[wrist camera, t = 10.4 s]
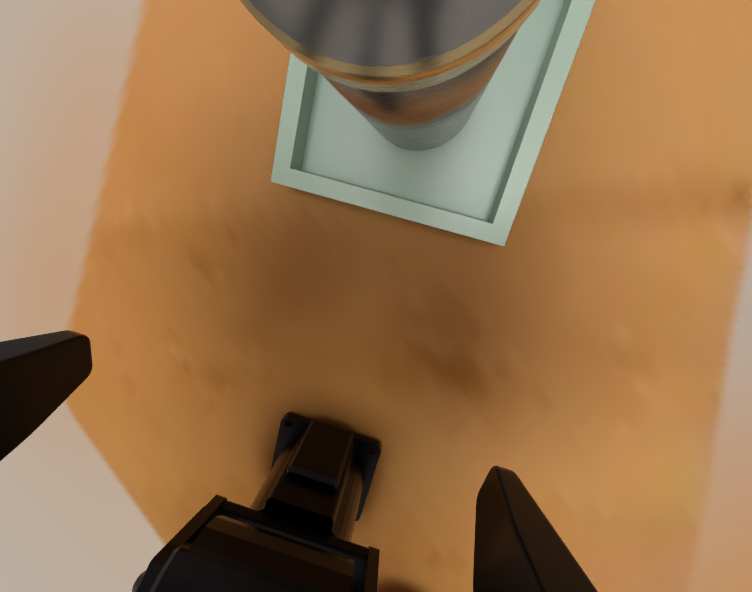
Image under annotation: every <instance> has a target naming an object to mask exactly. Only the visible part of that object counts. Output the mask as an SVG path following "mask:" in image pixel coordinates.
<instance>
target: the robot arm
mask: <svg viewBox="0 0 752 592" xmlns="http://www.w3.org/2000/svg"><path fill="white" fill-rule="evenodd" d="M91 370H92V355H91V345H90V340H89V338H88V337H87V336H86V335H83V334H80V333H77V332H74V331H67V330H66V331H60V332H54V333H49V334H43V335H37V336H31V337H26V338H20V339H14V340H8V341H3V342H0V461H1V460H2V459H3V458H4V457H6V456H7V455H8V454H9V453H10V452H11V451H13V450H14V449H15V448H16V447H17V446H18V445H19V444H20V443H22V442H23V441H24V440H25V439H26V438H27V437H28V436H30V434H32V432H34V431H35V430H36V429H37V428H38V427H39V426H40V425H41V424H42V423H43V422H44V421H45V420H46V419H47V417H49V416H50V415H51V413H53V412H54V411H55V410H56V409H57V407H59V406H60V405H61V404H62V403H63V402H64V401H65V400H66V399H67V398H68V397H69V396H70V394H71V393H72V392H73V391H74V390H75V389H76V388H77V387H78V386H79V385H80V384H81V383H82V382H83V381H84V380H85V379H86V378H87V377H88V376H89V374H90V372H91ZM287 420H290V421H291V422H292V423H289V422H288V421H287ZM371 447H374V448H376V449H375V450H373V449H371ZM380 453H381V444H380V443H379V441H377V440H374V439H371V438H368V437H365V436H362V435H358V434H355V433H352V432H349V431H346V430H343V429H340V428H336V427H333V426H330V425H327V424H324V423H321V422H318V421H314V420H311V419H308V418H305V417H302V416H299V415H296V414H292V413H287V414H286V415H284V417H283V419H282V420H281V424H280V429H279V434H278V439H277V444H276V449H275V453H274V458H273V463H272V468H271V472H270V473H269V475H268V477H267V479H266V480H265V482H264V484H263V486H262V487H261V489H260V491H259V493H258V495H257V496H256V498H255V500H254V502H253V503H252V505H251V507H250V508H248V507H245V506H242V505H239V504H236V503H233V502H230V501H227V498H225V497H222V496H219V495H216V496H215V497H214V498H213V499H212V500H211V501H210V502H209V503H208V504H207V505H206V506H204V507H203V508H202V509H201V510H200V511H199V512H198V513H197V514H196V515H195V516H194V517H193V518H192V519H191V520H190V521H189V522H188V523H187V524H186V525H185V526H184V527H183V528H182V529H181V530H180V531H179V532H178V533H177V534H176V535H175V536H174V537H173V538H172V539H171V540H170V541H169V542H168V543H167V545H166V546H165V547H164V548H163V549H162V550H161V551H160V552H159V553H158V554H157V555H156V556H155V557H154V558H153V559H152V560H151V562H150V564H149V566H148V568H147V570H146V571H144V572H143V573H142V574H140V576H139V577H138V578H137V580H136V582H135V584H134V586H133V589H132V592H377V580H378V565H379V549H376V548H373V547H370V546H369V548H366V547H363V546H360V545H357V544H354V543H352V542H351V537H352V533H353V529H354V524H355V521H358V520H359V518H360V515H361V512H362V509H363V506H364V503H365V500H366V497H367V494H368V490H369V487H370V484H371V481H372V478H373V475H374V472H375V469H376V465H377V462H378V459H379V456H380ZM473 592H598V591H597V590H596V588H595V587H594V585H593V584H592V583H591V581H590V580H589V578H588V577H587V575H586V574H585V573H584V571H583V570H582V568H581V567H580V565H579V564H578V562H577V561H576V560H575V558H574V557H573V555H572V554H571V552H570V551H569V549H568V548H567V547H566V545H565V544H564V542H563V541H562V539H561V538H560V537H559V535H558V534H557V532H556V531H555V529H554V528H553V526H552V525H551V524H550V522H549V521H548V519H547V518H546V516H545V515H544V513H543V512H542V511H541V509H540V508H539V506H538V505H537V503H536V502H535V501H534V499H533V498H532V496H531V495H530V493H529V492H528V490H527V489H526V488H525V486H524V485H523V483H522V482H521V480H520V479H519V477H518V476H517V475H516V474H515V473H514V472H513V471H511V470H508V469H505V468H502V467H499V466H493V467H492V468H491V469H490V471H489V473H488V475H487V477H486V479H485V481H484V483H483V485H482V487H481V489H480V491H479V493H478V496H477V502H476V523H475V547H474V571H473Z"/></svg>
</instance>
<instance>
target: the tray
mask: <svg viewBox="0 0 752 592" xmlns="http://www.w3.org/2000/svg"><path fill="white" fill-rule="evenodd" d="M594 3H595V0H541V1H540V3H539V4H538V6H537V7H536V9H535V10H534V11H533V13H532V14H531V15H530V16H529V17H528V19H527V20H526V21H525V22H524V23H523V25H522V26H521V27H520V28H519V30H518V32H517V33H516V35H515V37H514V39H513V41H512V42H511V44H510V46H509V48H508V50H507V51H506V53H505V55H504V57H503V59H502V60H501V62H500V64H499V66H498V68H497V69H496V71H495V73H494V75H493V77H492V78H491V80H490V82H489V84H488V86H487V87H486V89H485V91H484V93H483V95H482V96H481V98H480V100H479V102H478V104H477V105H476V107H475V109H474V111H473V113H472V115H471V116H470V118H469V120H468V121H467V123H466V124H465V126H464V127H463V128H462V130H461V131H460V132H459V133H458V134H457V135H456V136H455V137H453V138H452V139H451V140H449V141H448V142H447V143H445V144H443V145H441V146H439V147H436V148H433V149H429V150H423V151H412V150H407V149H403V148H400V147H398V146H396V145H394V144H392V143H390V142H389V141H388V140H386V139H385V138H384V137H383V136H382V135H381V134H380V133H379V132H378V131H377V130H376V129H375V128H374V127H373V126H372V125H371V124H370V123H369V122H368V121H367V120H366V119H365V118H364V117H363V116H362V115H361V114H360V113H359V112H358V111H357V110H356V109H355V108H354V107H353V106H352V105H351V104H350V103H349V102H348V101H347V100H346V99H345V98H344V97H343V96H342V95H341V94H340V93H339V92H338V91H337V90H336V89H335V88H334V87H333V86H332V85H331V84H330V83H329V82H328V81H327V80H326V79H325V78H324V77H323V76H322V75H321V74H319V73H317V72H315V71H314V70H313V69H311V68H310V67H308V66H307V65H306V64H304V63H303V62H301V61H300V60H299V59H298V58H296V57H295V56H294V55H293V54H292V53H291V54H290V60H289V66H288V73H287V79H286V86H285V92H284V99H283V105H282V111H281V118H280V124H279V131H278V137H277V144H276V150H275V156H274V163H273V169H272V176H271V182H274V183H277V184H281V185H284V186H288V187H292V188H295V189H299V190H303V191H306V192H310V193H313V194H317V195H321V196H324V197H328V198H331V199H335V200H339V201H342V202H346V203H349V204H353V205H357V206H360V207H364V208H367V209H371V210H375V211H378V212H382V213H385V214H389V215H393V216H396V217H400V218H403V219H407V220H411V221H414V222H418V223H421V224H425V225H429V226H432V227H436V228H439V229H443V230H447V231H450V232H454V233H457V234H461V235H465V236H468V237H472V238H476V239H479V240H483V241H486V242H490V243H494V244H497V245H501V246H504V245H505V243H506V240H507V237H508V234H509V232H510V229H511V226H512V224H513V221H514V218H515V216H516V213H517V210H518V208H519V205H520V202H521V199H522V197H523V194H524V191H525V189H526V186H527V183H528V181H529V178H530V175H531V173H532V170H533V167H534V164H535V162H536V159H537V156H538V154H539V151H540V148H541V146H542V143H543V140H544V138H545V135H546V132H547V129H548V127H549V124H550V121H551V119H552V116H553V113H554V111H555V108H556V105H557V103H558V100H559V97H560V94H561V92H562V89H563V86H564V84H565V81H566V78H567V76H568V73H569V70H570V68H571V65H572V62H573V59H574V57H575V54H576V51H577V49H578V46H579V43H580V41H581V38H582V35H583V33H584V30H585V27H586V24H587V22H588V19H589V16H590V14H591V11H592V8H593V6H594Z"/></svg>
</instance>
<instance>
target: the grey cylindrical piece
mask: <svg viewBox="0 0 752 592" xmlns="http://www.w3.org/2000/svg"><path fill="white" fill-rule="evenodd" d="M240 1H241V2H242V3H243V4H244V6H245V7H246V8H247V9H248V10H249V12H250V13H251V14H252V15H253V16H254V18H255V19H256V20H257V21H258V22H259V23H260V24H261V25H262V26H264V27H265V28H266V29H267V30H268V31H269V32H270V33H271V34H272V35H273V36H274V37H275V38H276V39H277V40H278V41H279V42H280V43H281V44H283V45H284V46H285V47H286V48H287V49H288V50H289V51H290V52H291V53H292V54H293V55H294V56H295V57H296V58H298V59H299V60H300V61H301V62H303V63H304V64H306V65H307V66H308V67H310V68H311V69H313V70H314V71H315V72H317V73H319V74H321V75H322V76H323V77H324V78H325V79H326V80H327V81H328V82H329V83H330V84H331V85H332V86H333V87H334V88H335V89H336V90H337V91H338V92H339V93H340V94H341V95H342V96H343V97H344V98H345V99H346V100H347V101H348V102H349V103H350V104H351V105H352V106H353V107H354V108H355V109H356V110H357V111H358V112H359V113H360V114H361V115H362V116H363V117H364V118H365V119H366V120H367V121H368V122H369V123H370V124H371V125H372V126H373V127H374V128H375V129H376V130H377V131H378V132H379V133H380V134H381V135H382V136H383V137H384V138H385V139H386V140H388V141H389V142H390V143H392V144H394V145H396V146H398V147H400V148H403V149H407V150H412V151H423V150H429V149H433V148H436V147H439V146H441V145H443V144H445V143H447V142H448V141H449V140H451V139H452V138H453V137H455V136H456V135H457V134H458V133H459V132H460V131H461V130H462V128H463V127H464V126H465V124H466V123H467V121H468V120H469V118H470V116H471V115H472V113H473V111H474V109H475V107H476V105H477V104H478V102H479V100H480V98H481V96H482V95H483V93H484V91H485V89H486V87H487V86H488V84H489V82H490V80H491V78H492V77H493V75H494V73H495V71H496V69H497V68H498V66H499V64H500V62H501V60H502V59H503V57H504V55H505V53H506V51H507V50H508V48H509V46H510V44H511V42H512V41H513V39H514V37H515V35H516V33H517V32H518V30H519V28H520V27H521V26H522V25H523V23H524V22H525V21H526V20H527V19H528V17H529V16H530V15H531V14H532V13H533V11H534V10H535V9H536V7H537V6H538V4H539V3H540V1H541V0H240Z"/></svg>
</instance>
